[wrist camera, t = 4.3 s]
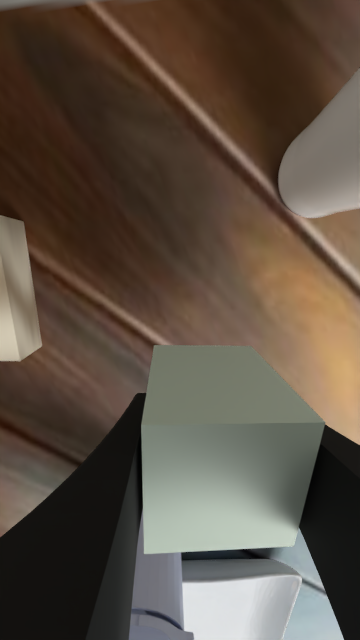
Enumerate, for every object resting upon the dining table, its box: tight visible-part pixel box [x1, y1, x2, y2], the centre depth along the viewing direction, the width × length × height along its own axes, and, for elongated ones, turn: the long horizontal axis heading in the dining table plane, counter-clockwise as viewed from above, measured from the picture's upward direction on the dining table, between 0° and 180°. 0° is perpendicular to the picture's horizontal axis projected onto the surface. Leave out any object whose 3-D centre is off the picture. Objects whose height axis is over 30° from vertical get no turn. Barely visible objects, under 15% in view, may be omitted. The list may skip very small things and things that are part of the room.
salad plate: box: [181, 559, 302, 640], centre depth 25 cm, size 21×21×3 cm
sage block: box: [141, 345, 325, 554], centre depth 8 cm, size 5×5×5 cm
